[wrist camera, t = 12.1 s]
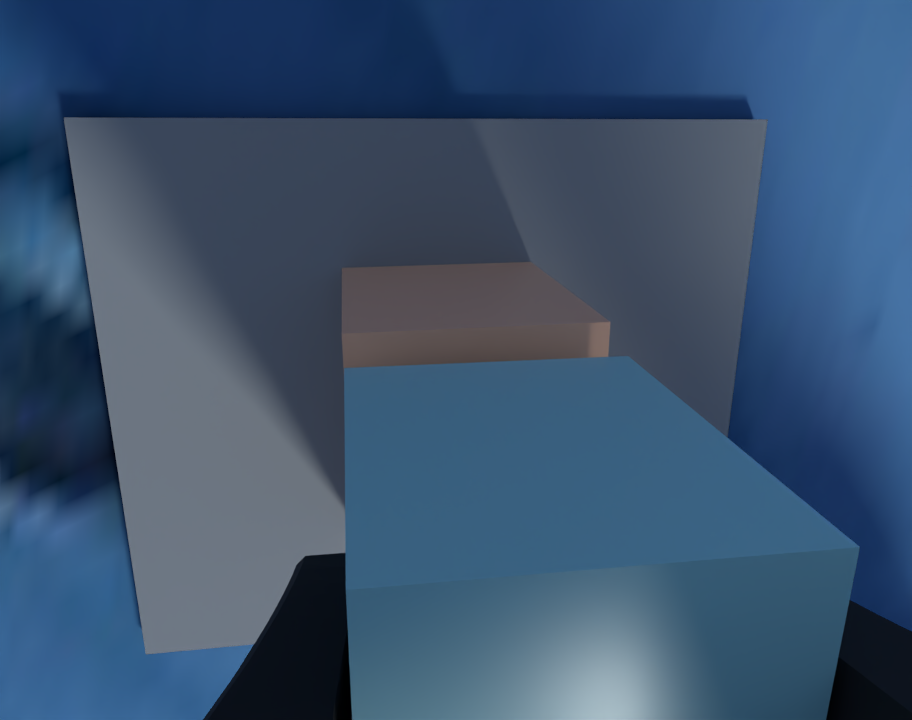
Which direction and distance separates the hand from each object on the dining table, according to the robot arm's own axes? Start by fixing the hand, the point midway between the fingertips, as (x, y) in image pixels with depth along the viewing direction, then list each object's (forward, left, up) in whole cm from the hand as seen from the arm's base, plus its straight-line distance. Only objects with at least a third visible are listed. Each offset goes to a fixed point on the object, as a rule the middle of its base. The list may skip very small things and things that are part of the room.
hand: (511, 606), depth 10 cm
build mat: (0, 0, -8) cm, 8 cm away
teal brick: (0, 0, -2) cm, 2 cm away
